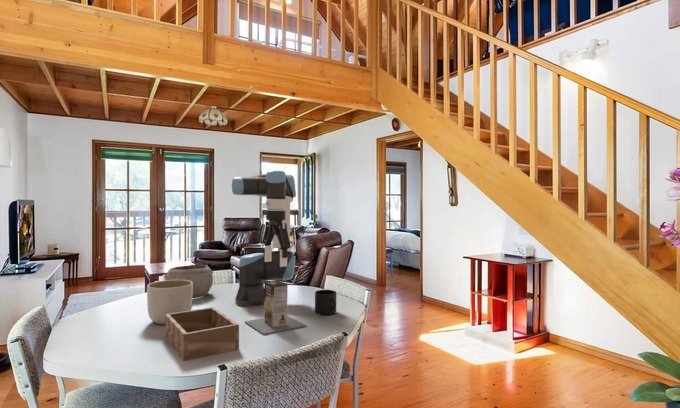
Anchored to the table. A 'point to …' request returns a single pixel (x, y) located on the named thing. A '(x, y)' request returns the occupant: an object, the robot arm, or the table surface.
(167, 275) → the bowl
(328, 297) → the mug
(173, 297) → the planter
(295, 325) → the mat
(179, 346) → the crate
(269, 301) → the coffee box
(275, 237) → the robot arm
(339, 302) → the table surface
